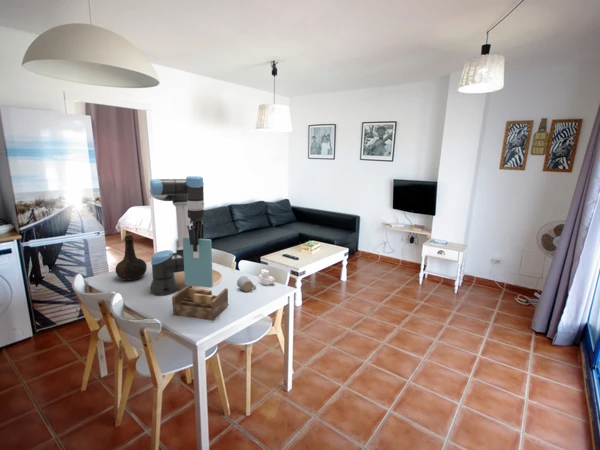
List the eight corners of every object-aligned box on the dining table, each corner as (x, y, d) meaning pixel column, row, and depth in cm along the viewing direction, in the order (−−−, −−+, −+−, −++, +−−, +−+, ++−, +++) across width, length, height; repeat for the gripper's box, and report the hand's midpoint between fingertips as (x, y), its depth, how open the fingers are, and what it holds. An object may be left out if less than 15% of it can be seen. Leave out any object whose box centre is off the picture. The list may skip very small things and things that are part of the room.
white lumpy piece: (258, 285, 204) (251, 275, 196) (263, 275, 208) (257, 265, 200) (273, 289, 198) (267, 279, 190) (278, 279, 202) (273, 269, 195)
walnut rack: (172, 318, 155) (171, 297, 153) (191, 302, 172) (190, 283, 170) (214, 323, 151) (213, 302, 149) (229, 306, 169) (228, 287, 166)
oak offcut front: (193, 311, 160) (193, 294, 158) (195, 309, 161) (194, 293, 159) (212, 313, 158) (211, 296, 156) (213, 312, 159) (213, 295, 157)
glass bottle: (127, 285, 191) (123, 241, 185) (110, 279, 200) (106, 236, 194) (153, 276, 206) (150, 235, 200) (136, 271, 215) (133, 231, 209)
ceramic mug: (242, 293, 185) (242, 281, 184) (236, 288, 192) (236, 276, 190) (258, 290, 191) (258, 278, 190) (252, 285, 198) (252, 274, 196)
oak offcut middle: (189, 307, 164) (188, 289, 162) (190, 305, 165) (190, 287, 163) (210, 309, 162) (210, 291, 159) (212, 308, 163) (211, 290, 161)
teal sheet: (184, 284, 156) (182, 238, 151) (186, 283, 158) (184, 237, 153) (211, 287, 154) (209, 240, 149) (212, 286, 156) (211, 239, 151)
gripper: (195, 212, 140) (197, 262, 145) (210, 207, 155) (211, 253, 159) (180, 211, 142) (182, 261, 146) (196, 206, 156) (197, 252, 161)
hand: (197, 256), depth 153 cm, fingers closed on teal sheet, 2 cm apart
